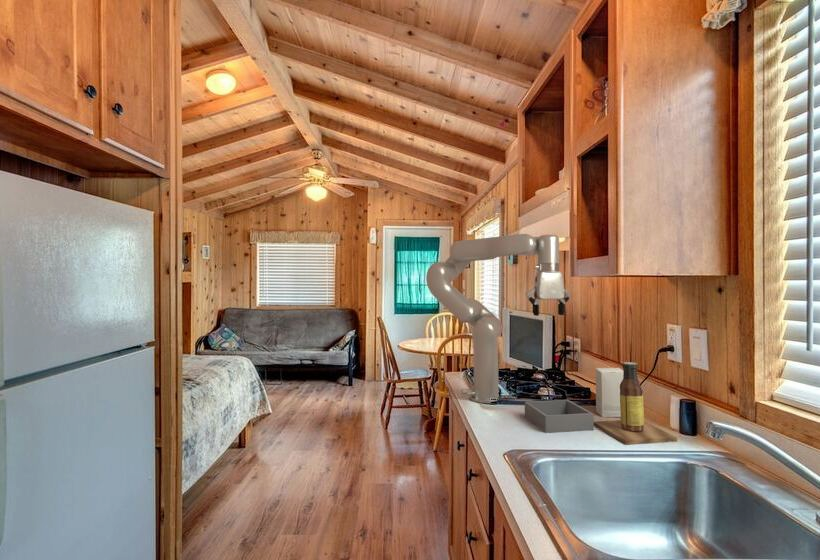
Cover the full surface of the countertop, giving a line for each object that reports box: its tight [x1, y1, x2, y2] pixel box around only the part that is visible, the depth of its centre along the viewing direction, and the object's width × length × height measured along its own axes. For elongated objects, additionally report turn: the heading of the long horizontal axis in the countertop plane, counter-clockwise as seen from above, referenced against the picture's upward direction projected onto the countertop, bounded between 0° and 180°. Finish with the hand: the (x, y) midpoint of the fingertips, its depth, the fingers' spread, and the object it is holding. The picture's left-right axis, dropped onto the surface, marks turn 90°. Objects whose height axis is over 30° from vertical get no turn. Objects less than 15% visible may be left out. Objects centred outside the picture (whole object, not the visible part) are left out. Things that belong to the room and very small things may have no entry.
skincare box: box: [595, 367, 624, 418], centre depth 146 cm, size 8×7×16 cm
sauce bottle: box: [620, 361, 645, 432], centre depth 128 cm, size 7×6×20 cm
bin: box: [524, 399, 595, 434], centre depth 137 cm, size 16×16×5 cm
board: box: [594, 419, 678, 446], centre depth 128 cm, size 16×16×1 cm
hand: (548, 315), depth 156 cm, fingers open, 9 cm apart
